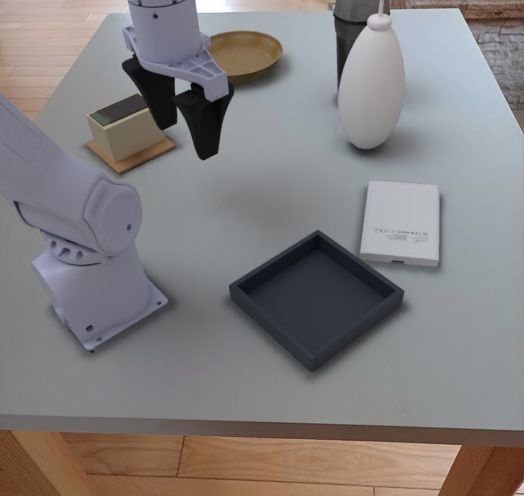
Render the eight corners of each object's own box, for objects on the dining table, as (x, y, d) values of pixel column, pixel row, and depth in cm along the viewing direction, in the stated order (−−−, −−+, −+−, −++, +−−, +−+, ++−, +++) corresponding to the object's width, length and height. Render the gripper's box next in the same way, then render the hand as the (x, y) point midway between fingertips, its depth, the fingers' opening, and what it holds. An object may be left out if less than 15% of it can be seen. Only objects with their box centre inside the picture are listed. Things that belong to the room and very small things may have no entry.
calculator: (115, 163, 69) (103, 128, 65) (96, 147, 71) (84, 113, 67) (165, 139, 72) (157, 104, 68) (146, 125, 74) (137, 90, 70)
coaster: (119, 175, 68) (118, 172, 68) (86, 146, 72) (85, 144, 72) (176, 147, 71) (175, 144, 71) (141, 121, 75) (141, 119, 75)
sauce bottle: (327, 135, 71) (335, -19, 56) (381, 124, 72) (403, -30, 57) (347, 167, 66) (361, 10, 52) (404, 156, 67) (434, -3, 53)
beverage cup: (388, 106, 74) (413, -67, 58) (342, 118, 73) (355, -55, 57) (364, 83, 78) (381, -85, 62) (320, 95, 77) (325, -73, 61)
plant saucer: (227, 102, 77) (226, 85, 75) (173, 68, 84) (170, 51, 82) (302, 68, 82) (302, 50, 80) (245, 38, 89) (243, 22, 87)
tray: (311, 375, 48) (311, 359, 46) (230, 301, 54) (228, 285, 52) (401, 307, 52) (405, 290, 50) (317, 246, 58) (318, 229, 56)
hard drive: (437, 196, 62) (436, 270, 55) (367, 191, 63) (358, 262, 56) (440, 185, 61) (440, 259, 54) (369, 179, 62) (359, 251, 55)
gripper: (250, 3, 42) (260, 153, 53) (154, -40, 49) (180, 100, 60) (178, 31, 40) (204, 183, 51) (88, -18, 47) (127, 124, 58)
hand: (187, 140), depth 55 cm, fingers open, 7 cm apart
